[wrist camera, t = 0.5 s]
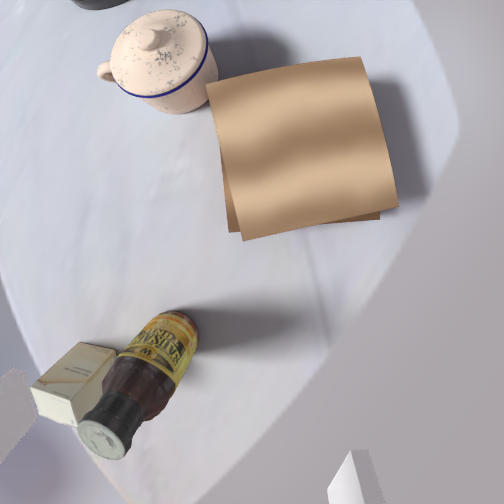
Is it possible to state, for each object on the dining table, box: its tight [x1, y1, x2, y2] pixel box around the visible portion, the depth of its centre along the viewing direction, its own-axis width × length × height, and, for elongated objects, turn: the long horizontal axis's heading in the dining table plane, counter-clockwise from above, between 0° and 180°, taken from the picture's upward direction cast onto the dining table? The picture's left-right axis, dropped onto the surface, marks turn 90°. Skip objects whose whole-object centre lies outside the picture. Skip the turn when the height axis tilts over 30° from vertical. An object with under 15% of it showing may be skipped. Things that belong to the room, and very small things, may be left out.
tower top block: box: [206, 57, 399, 241], centre depth 28 cm, size 14×14×4 cm
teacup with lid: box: [97, 10, 218, 114], centre depth 26 cm, size 12×9×12 cm
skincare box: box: [30, 342, 117, 428], centre depth 33 cm, size 6×4×12 cm
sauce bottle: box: [77, 312, 199, 460], centre depth 28 cm, size 7×6×20 cm
